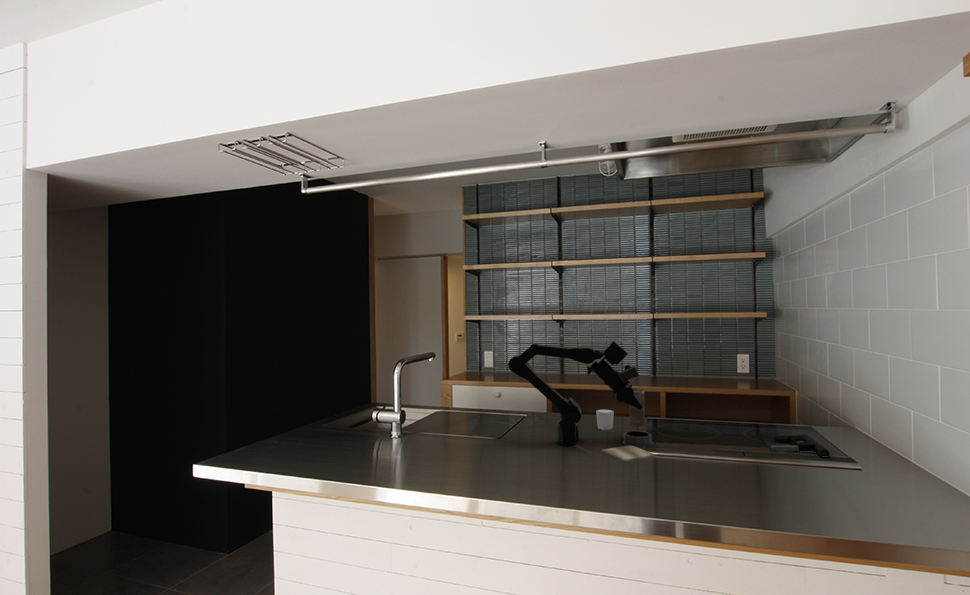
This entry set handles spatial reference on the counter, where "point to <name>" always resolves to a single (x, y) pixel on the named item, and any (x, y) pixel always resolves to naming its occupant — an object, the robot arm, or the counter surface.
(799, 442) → the door handle
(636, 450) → the beige cloth napkin
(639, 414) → the tapered cup
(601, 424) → the shot glass
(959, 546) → the counter surface
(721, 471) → the counter surface
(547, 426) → the counter surface
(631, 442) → the cup
